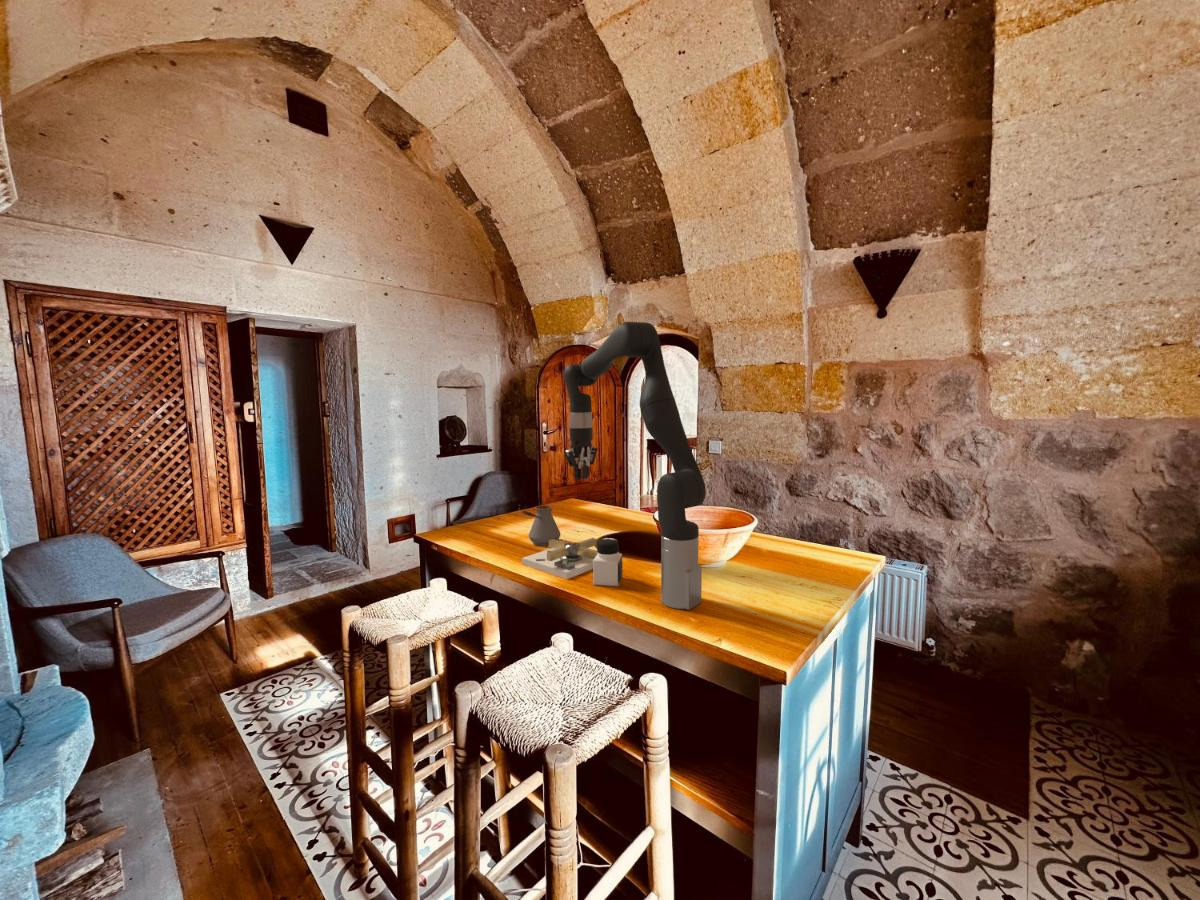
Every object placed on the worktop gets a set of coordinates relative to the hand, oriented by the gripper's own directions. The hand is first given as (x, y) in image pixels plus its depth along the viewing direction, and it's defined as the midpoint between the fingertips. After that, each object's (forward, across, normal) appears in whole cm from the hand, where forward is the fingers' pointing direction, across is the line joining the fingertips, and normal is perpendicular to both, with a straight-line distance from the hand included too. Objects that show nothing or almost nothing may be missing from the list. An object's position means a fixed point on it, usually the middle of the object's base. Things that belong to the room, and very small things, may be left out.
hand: (581, 478), depth 163 cm
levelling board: (+25, -11, -3) cm, 28 cm away
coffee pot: (+25, -5, +17) cm, 31 cm away
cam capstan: (+23, -11, -6) cm, 26 cm away
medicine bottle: (+25, -14, -23) cm, 37 cm away
